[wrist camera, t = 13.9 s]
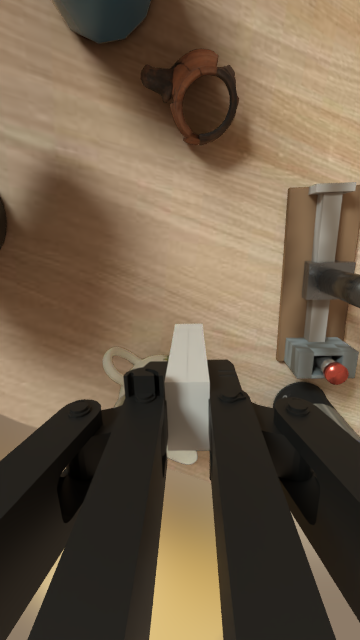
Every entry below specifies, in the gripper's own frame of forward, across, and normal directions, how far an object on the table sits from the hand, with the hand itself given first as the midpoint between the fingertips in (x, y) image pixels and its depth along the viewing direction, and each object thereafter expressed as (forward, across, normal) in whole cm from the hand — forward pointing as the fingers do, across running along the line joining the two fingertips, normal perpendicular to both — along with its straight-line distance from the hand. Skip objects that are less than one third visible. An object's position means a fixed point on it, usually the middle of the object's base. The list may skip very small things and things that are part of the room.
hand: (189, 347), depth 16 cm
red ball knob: (+25, +19, -12) cm, 33 cm away
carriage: (+28, +19, -1) cm, 34 cm away
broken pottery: (+30, 0, +23) cm, 38 cm away
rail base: (+29, +19, -1) cm, 35 cm away
